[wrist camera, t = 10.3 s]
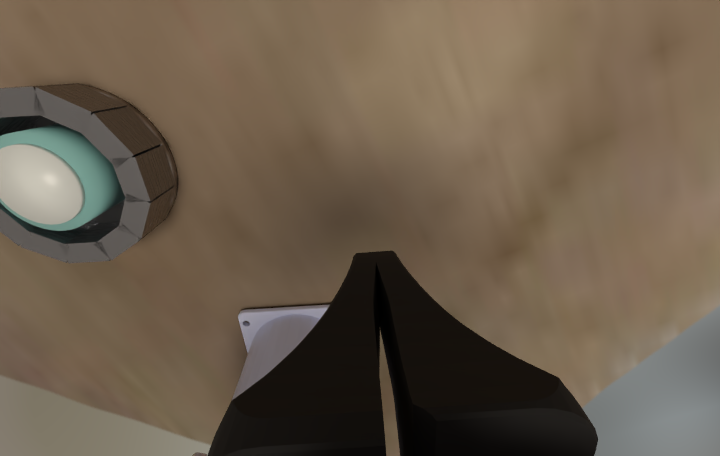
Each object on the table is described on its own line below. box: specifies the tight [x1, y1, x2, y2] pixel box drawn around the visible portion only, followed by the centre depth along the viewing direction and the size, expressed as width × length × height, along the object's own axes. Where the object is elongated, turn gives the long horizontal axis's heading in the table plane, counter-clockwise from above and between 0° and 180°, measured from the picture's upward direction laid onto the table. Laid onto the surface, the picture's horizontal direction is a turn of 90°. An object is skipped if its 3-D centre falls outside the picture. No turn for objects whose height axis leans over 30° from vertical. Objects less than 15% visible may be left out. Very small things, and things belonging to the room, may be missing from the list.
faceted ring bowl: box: [0, 84, 178, 263], centre depth 18 cm, size 9×9×3 cm
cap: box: [0, 124, 125, 231], centre depth 18 cm, size 5×5×4 cm
